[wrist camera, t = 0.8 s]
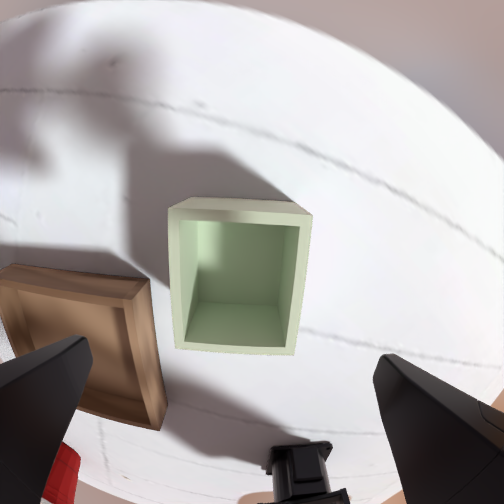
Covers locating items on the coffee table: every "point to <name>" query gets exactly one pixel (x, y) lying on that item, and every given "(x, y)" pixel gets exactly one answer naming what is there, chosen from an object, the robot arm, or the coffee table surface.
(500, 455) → the robot arm
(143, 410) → the big crate
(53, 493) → the plastic cup
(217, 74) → the coffee table surface
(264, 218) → the small crate
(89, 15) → the coffee table surface
